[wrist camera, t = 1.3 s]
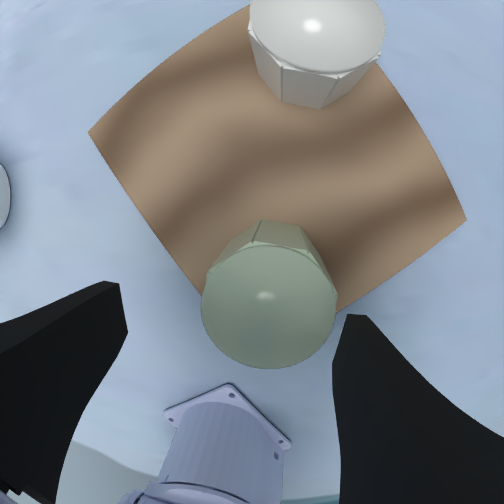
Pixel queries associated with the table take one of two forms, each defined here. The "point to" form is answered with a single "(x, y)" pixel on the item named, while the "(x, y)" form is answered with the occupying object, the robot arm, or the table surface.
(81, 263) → the table surface
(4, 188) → the cup
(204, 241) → the walnut board
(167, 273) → the table surface
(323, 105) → the white acorn nut
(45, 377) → the robot arm
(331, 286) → the sage green acorn nut
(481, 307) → the table surface
